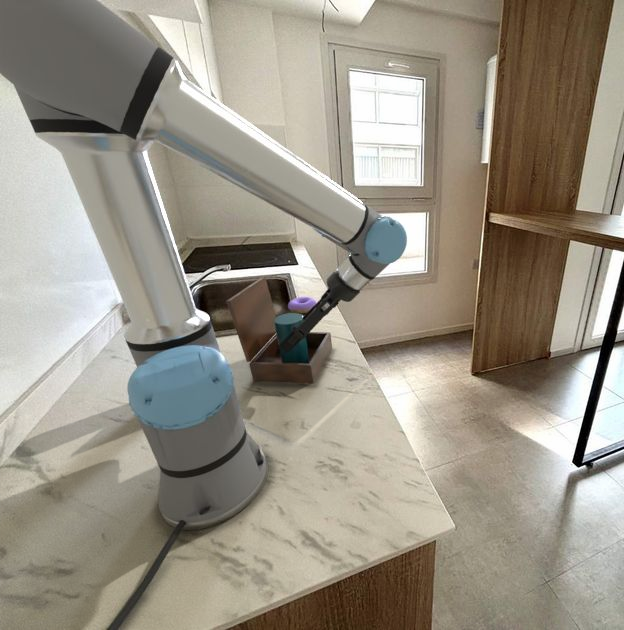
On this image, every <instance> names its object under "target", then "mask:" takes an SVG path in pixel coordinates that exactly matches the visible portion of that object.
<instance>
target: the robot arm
mask: <svg viewBox="0 0 624 630" xmlns="http://www.w3.org/2000/svg"><path fill="white" fill-rule="evenodd" d="M0 75H1V76H2V77H4V79H6V80H7V81H9V82H10V83H11V84H12V85H13V86H14V90H15V91H16V94H17V96H18V98H19V100H20V102H21V105H22V107H23V110H24V111H25V115H26V117H27V119H28V121H29V122H30V124H31V125H30V126H31V127H32V130H33V131H34V134H35V136H36V137H37V138H39V139H40V140H41V141H43V142H45V143H46V144H47V145H50V146H51V147H53V148H54V149H56V150H57V151H58V152H59V153H60V154H61V157H62V159H63V161H64V163H65V166H66V168H67V171H68V173H69V175H70V177H71V178H70V179H71V180H72V183H73V185H74V187H75V189H76V192H77V194H78V197H79V199H80V202H81V205H82V207H83V209H84V211H85V214H86V216H87V219H88V221H89V223H90V225H91V228H92V231H93V233H94V236H95V238H96V241H97V242H98V243H97V244H98V245H99V247H100V250H101V252H102V254H103V257H104V259H105V262H106V265H107V267H108V269H109V271H110V273H111V276H112V279H113V281H114V284H115V286H116V288H117V290H118V293H119V296H120V298H121V300H122V303H123V305H124V307H125V310H126V312H127V315H128V317H129V319H130V322H131V323H130V325H129V326H128V327H127V329H126V330H125V331H124V334H123V338H124V340H125V342H126V345H127V346H128V349H129V352H130V354H131V357H132V359H133V361H134V363H135V366H136V368H135V369H134V370H133V371H132V373H131V375H130V377H129V378H128V381H127V385H126V386H127V387H126V389H127V394H128V403H129V407H130V409H131V411H132V412H133V413H134V416H135V417H136V418H137V420H138V422H139V425H140V427H141V430H142V431H143V433H144V436H145V438H146V440H147V443H148V445H149V447H150V449H151V452H152V454H153V456H154V459H155V460H156V463H157V465H158V468H159V470H160V473H159V482H158V483H159V485H158V494H157V498H158V499H157V501H158V509H159V511H160V513H161V515H162V517H163V519H164V521H165V522H166V523H167V524H168V525H169V526H171V527H173V528H174V529H173V531H172V533H171V534H170V536H169V537H168V539H167V540H166V542H165V544H164V545H163V547H162V548H161V550H160V552H159V554H158V555H157V557H156V558H155V560H154V562H153V564H152V565H151V567H150V568H149V570H148V572H147V573H146V574H145V576H144V578H143V579H142V581H141V582H140V584H139V586H138V587H137V589H136V590H135V591H134V593H133V594H132V595H131V597H130V598H129V600H128V601H127V603H126V604H125V605H124V607H123V608H122V609H121V611H120V612H119V613H118V615H117V616H116V617H115V619H114V620H113V621H112V623H110V625H109V626H108V627H107V629H106V630H119V628H120V627H121V625H122V624H123V623H124V621H125V620H126V619H127V617H128V616H129V614H130V613H131V612H132V610H133V609H134V608H135V606H136V604H137V603H138V602H139V601H140V599H141V597H142V596H143V594H144V593H145V591H146V590H147V589H148V587H149V585H150V584H151V582H152V581H153V579H154V578H155V576H156V575H157V573H158V571H159V569H160V568H161V565H162V564H163V562H164V560H165V559H166V557H167V555H168V554H169V552H170V550H171V549H172V547H173V546H174V544H175V542H176V540H177V539H178V537H179V535H180V534H181V532H182V531H183V530H184V531H196V530H197V531H198V530H203V529H207V528H210V527H213V526H216V525H219V524H220V523H223V522H225V521H227V520H229V519H231V518H233V517H234V516H236V515H237V514H238V513H240V512H241V511H243V510H244V509H245V508H247V506H249V505H250V504H251V503H252V502H253V501H254V500H255V498H256V497H257V496H258V495H259V493H260V492H261V491H262V490H263V488H264V485H265V483H266V480H267V479H268V475H269V465H268V460H267V456H266V454H265V452H264V450H263V448H262V447H263V446H262V445H261V444H260V443H259V442H256V441H255V439H253V437H252V436H251V435H250V434H249V433H248V432H247V428H246V424H245V421H244V417H243V413H242V410H241V406H240V402H239V399H238V395H237V391H236V388H235V383H234V374H233V370H232V368H231V366H230V364H229V363H228V361H227V358H226V357H225V356H224V355H223V353H222V352H221V350H220V345H219V342H218V339H217V337H216V334H215V331H214V327H213V324H212V320H211V317H210V315H209V314H208V313H207V312H205V311H203V310H201V309H198V308H197V307H196V304H195V301H194V297H193V295H192V291H191V288H190V285H189V282H188V279H187V274H186V272H185V269H184V266H183V263H182V259H181V257H180V254H179V250H178V247H177V244H176V241H175V238H174V234H173V231H172V229H171V225H170V221H169V218H168V215H167V212H166V208H165V207H164V202H163V200H162V197H161V194H160V193H161V192H160V190H159V188H158V184H157V180H156V177H155V174H154V171H153V168H152V164H151V162H150V160H149V155H148V152H149V150H150V148H151V147H152V146H153V144H154V143H155V142H157V143H159V144H161V145H162V146H164V147H165V148H168V149H169V150H171V151H173V152H175V153H177V154H179V155H180V156H183V157H184V158H186V159H188V160H189V161H191V162H194V163H195V164H196V165H198V166H200V167H202V168H204V169H206V170H207V171H209V172H211V173H213V174H214V175H216V176H219V177H220V178H222V179H224V180H226V181H227V182H230V183H231V184H233V185H234V186H237V187H239V188H240V189H242V190H243V191H245V192H247V193H249V194H250V195H253V196H255V197H256V198H258V199H259V200H262V201H264V202H266V203H267V204H269V205H271V206H273V207H275V208H276V209H278V210H280V211H281V212H284V213H286V214H287V215H288V216H291V217H292V218H294V219H297V220H298V221H300V222H301V223H304V224H306V225H308V227H311V228H312V229H313V231H315V232H317V233H318V234H319V235H321V237H322V238H325V239H327V240H328V241H330V242H332V243H333V244H335V245H336V246H338V247H340V248H341V249H342V250H345V251H346V252H348V253H349V255H348V256H347V257H346V258H345V259H344V260H343V261H342V263H340V265H338V267H337V268H336V269H335V270H334V271H333V272H332V273H331V274H330V275H329V276H328V278H326V285H327V289H326V290H325V292H324V293H323V294H322V295H321V296H320V299H319V300H317V301H316V302H317V303H316V304H315V305H314V306H313V307H312V308H311V309H310V310H309V311H308V312H307V313H304V315H302V316H303V322H302V323H301V324H300V325H299V326H298V327H293V328H292V329H293V331H292V332H291V333H290V334H289V335H288V336H287V337H286V338H285V339H284V340H283V341H282V342H281V344H280V345H279V347H280V348H282V349H283V350H284V351H285V352H287V353H289V352H290V351H291V350H292V349H293V348H294V347H295V346H296V345H297V344H298V343H299V342H300V341H301V340H303V339H304V338H305V337H306V335H307V334H308V333H309V332H312V331H313V329H314V328H315V327H316V326H317V325H318V324H319V323H320V322H321V320H323V318H325V316H327V315H328V314H329V313H331V311H332V310H333V309H335V308H336V307H337V306H338V305H339V302H341V301H343V302H346V303H349V302H352V301H353V300H354V299H355V298H356V297H357V296H359V294H360V293H361V291H363V290H364V289H365V288H366V287H367V286H372V285H373V282H372V281H373V280H374V279H375V278H377V276H379V275H380V274H381V273H382V272H383V271H384V270H385V269H386V268H387V267H388V266H389V265H390V264H394V263H395V262H397V261H398V260H399V259H400V258H401V257H402V256H403V254H404V252H405V250H406V248H407V243H408V235H407V232H406V230H405V226H403V225H402V223H400V221H398V220H396V219H393V218H392V217H390V216H386V215H382V214H380V213H378V211H376V210H374V209H373V208H372V207H370V206H368V205H367V204H366V203H364V202H362V201H361V200H360V199H358V198H357V197H356V196H355V195H353V194H351V193H350V192H348V191H347V190H346V189H344V188H343V187H342V186H340V185H339V184H337V183H336V182H334V181H333V180H331V179H330V178H329V177H328V176H326V175H325V174H323V173H322V172H320V171H319V170H317V169H316V168H315V167H313V166H312V165H310V164H308V163H307V162H306V161H304V159H302V158H300V157H299V156H297V155H296V154H294V153H293V152H292V151H291V150H289V149H288V148H286V147H285V146H283V145H281V143H279V142H277V140H275V139H273V138H272V137H271V136H269V135H268V134H266V133H265V132H263V131H262V130H261V129H259V128H257V126H255V125H254V124H252V123H251V122H249V121H248V120H246V119H245V118H244V117H242V116H241V115H239V114H237V113H236V112H235V111H233V110H232V109H231V108H229V107H228V106H226V105H225V104H223V103H222V102H220V101H219V100H218V99H216V98H215V97H213V96H212V95H211V94H209V93H208V92H206V91H205V90H203V89H202V88H201V87H200V86H198V85H197V84H195V83H194V82H192V81H190V79H188V78H187V77H186V75H184V72H183V70H182V68H181V65H180V63H179V60H177V58H175V57H174V56H172V55H171V54H169V53H168V52H167V51H166V50H165V49H163V48H162V47H160V46H158V44H156V43H154V42H153V41H152V40H150V39H149V38H148V37H147V36H145V35H144V34H142V32H140V31H139V30H137V29H136V28H135V27H133V25H130V23H128V22H127V21H126V20H124V19H123V18H122V17H120V16H119V15H118V14H116V13H115V12H114V11H112V10H111V9H110V8H109V7H107V6H106V5H105V4H103V3H102V2H100V1H99V0H0Z"/></svg>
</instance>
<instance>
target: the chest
mask: <svg viewBox="0 0 624 630" xmlns="http://www.w3.org/2000/svg"><path fill="white" fill-rule="evenodd" d="M306 342H307V349H308V356H309V363H308V364H303V363H282V360H281V354H280V349H279V344H278V338H277V333H276V334H275V335H274V336H273V337H272V338H271V339H270V341H269V342H268V343H267V344H266V345H265V346H264V347H263V348H262V349H261V350H260V352H259V353H258V354H257V355H256V356H255V357H254V358H253V359H252V360H251V361H250V362H248V365H249V370H250V373H251V378H252V382H255V383H256V382H258V383H291V384H315V381H316V380H317V378H318V376H319V374H320V372H321V370H322V369H323V367H324V364H325V362H326V360H327V359H328V357H329V355H330V353H331V352H332V350H333V343H332V334H331V332H327V331H325V332H324V331H310V332H309V333H308V334H307V335H306Z"/></svg>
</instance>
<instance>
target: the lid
mask: <svg viewBox="0 0 624 630" xmlns="http://www.w3.org/2000/svg"><path fill="white" fill-rule="evenodd" d="M225 301H226V304H227V309H228V310H229V313H230V317H231V319H232V323H233V325H234V329H235V331H236V335H237V337H238V339H239V342H240V345H241V349H242V351H243V355H244V357H245V360H246V362H247V363H250V362H251V361H252V360H253V359H254V358H255V357H256V356H257V354H258V353H259V352H260V351H261V350H262V349H263V348H264V347H265V346H266V344H267V343H268V342H269V341H270V340H271V339H272V338H273V337H274V336H275V335H276V328H275V322H274V319H275V318H276V317H277V314H276V311H275V307H274V304H273V300H272V296H271V293H270V290H269V285H268V282H267V279H266V276H261V277H260V278H258V279H257V280H255V281H254V282H252V283H251V284H249V285H248V286H246V287H245V288H243V289H242V290H240V291H239V292H238V293H236V294H235V295H233V296H232V297H230V298H229V299H227V300H225Z"/></svg>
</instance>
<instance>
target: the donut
mask: <svg viewBox="0 0 624 630" xmlns="http://www.w3.org/2000/svg"><path fill="white" fill-rule="evenodd" d="M317 302H318V301H317V299H315V298H313V297H310V296H300V297H296V298H293V299H292V300H290V301H289V302H288V304H287V309H288V310H289V311H290V313H298V314H306V313H307V312H308V311H309V310H310V309H311V308H312V307H313V306H314V305H315V304H316V303H317Z"/></svg>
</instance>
